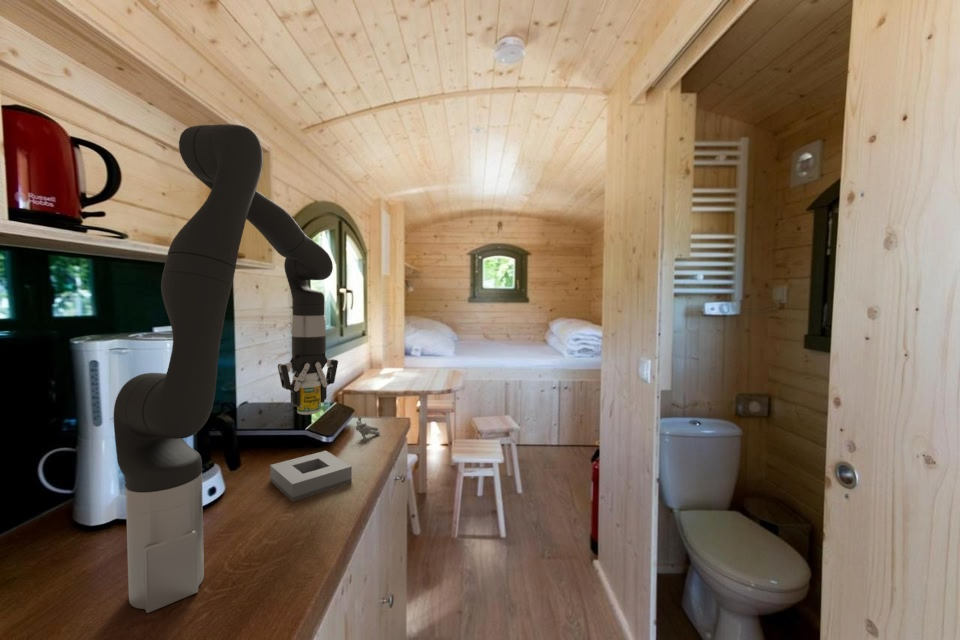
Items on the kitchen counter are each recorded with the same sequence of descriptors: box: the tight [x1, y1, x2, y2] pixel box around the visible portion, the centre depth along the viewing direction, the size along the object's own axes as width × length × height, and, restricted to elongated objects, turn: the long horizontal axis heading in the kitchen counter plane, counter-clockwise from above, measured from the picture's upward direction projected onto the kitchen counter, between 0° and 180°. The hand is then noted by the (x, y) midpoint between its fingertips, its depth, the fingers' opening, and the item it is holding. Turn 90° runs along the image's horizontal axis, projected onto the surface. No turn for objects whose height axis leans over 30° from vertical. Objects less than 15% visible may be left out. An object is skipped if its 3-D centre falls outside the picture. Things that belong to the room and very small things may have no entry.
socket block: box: [269, 450, 353, 503], centre depth 100 cm, size 14×14×4 cm
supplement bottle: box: [296, 373, 322, 416], centre depth 99 cm, size 5×5×10 cm
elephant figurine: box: [355, 415, 381, 443], centre depth 132 cm, size 10×6×9 cm
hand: (309, 403), depth 99 cm, fingers closed on supplement bottle, 5 cm apart
